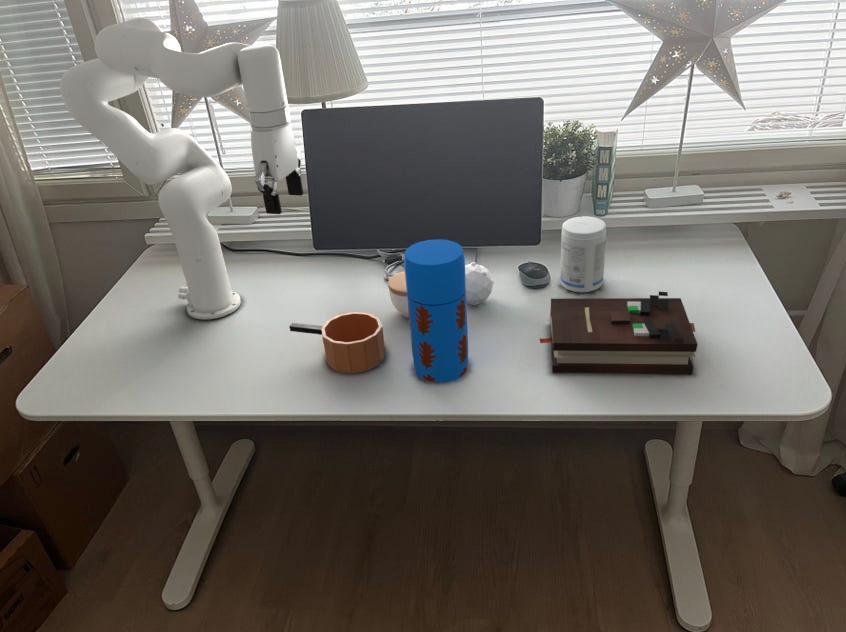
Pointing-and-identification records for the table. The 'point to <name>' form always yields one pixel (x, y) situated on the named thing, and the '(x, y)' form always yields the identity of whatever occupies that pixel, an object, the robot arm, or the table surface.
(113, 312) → the table surface
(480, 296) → the decorative ball
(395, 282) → the trinket box
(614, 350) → the decorative book
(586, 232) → the supplement tub
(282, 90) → the robot arm
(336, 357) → the copper saucepan
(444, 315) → the thermos
